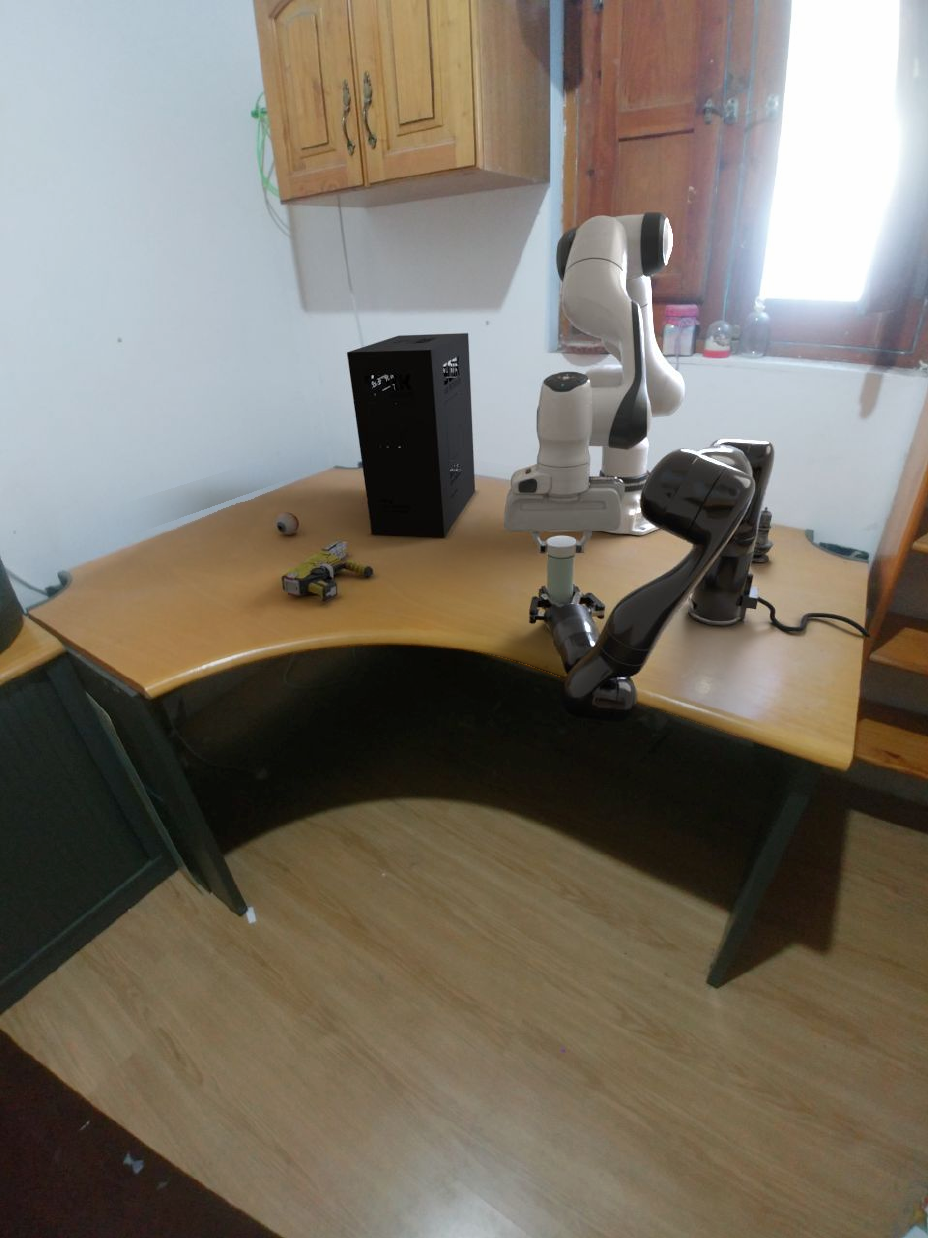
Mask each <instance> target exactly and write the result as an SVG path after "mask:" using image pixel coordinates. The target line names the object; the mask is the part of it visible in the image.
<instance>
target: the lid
mask: <svg viewBox="0 0 928 1238" xmlns="http://www.w3.org/2000/svg"><path fill="white" fill-rule="evenodd" d="M577 541H578V540H577V539H575V537H572V536H568V535H554V536H551V537H549V538H548V539H546V541H545V542H546V554H547V556H548V555H550V556H553V557H558V558H565V557H570V556H573V555H574V554H575V555H576V554H577V553H576V543H577Z"/></svg>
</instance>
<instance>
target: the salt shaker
mask: <svg viewBox="0 0 928 1238" xmlns="http://www.w3.org/2000/svg"><path fill="white" fill-rule="evenodd" d="M772 517H773V513H772V512H771V511H770V510H769V508H768V506H765V507H764V508H763V509H762V511H761V516H760V521H759V527H758V532H757V537H756V542H755V547H754V552H753V557H752V562H755V563H763V562H767V561H768V560H769V559H770V557H769V555H767V554H768V553H769V552H770V551H771V550H772V547H773V546H774V542H773V541H772V540H770V539H769V533H770V530H771V529H772V525H771V522H772Z"/></svg>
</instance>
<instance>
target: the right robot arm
mask: <svg viewBox="0 0 928 1238" xmlns="http://www.w3.org/2000/svg"><path fill="white" fill-rule="evenodd" d="M775 453H776V452H775V447H774V445H773V444H772V442H769V441H765V440H751V439H736V438H719V439H717V440H714V441H712V442H711V444H710V445H709V446H707V447H704V448H702V449H698V450H697V449H696V450H692V449H689V448H685V447H684V448H680V447H679V448H677V449H673V450H671V452H669V453H667V454H666V455H665V456H663V457H662V458H661V459H660V460H659V461H658V462H657V463H656V464H655V466H654V467H653V468H652V470H651V471H650V472H651V473H650V474H649V476H648V477H647V479H646V481H645V483H644V486H643V489H642V492H641V496H640V510H641V513H642V515H643V517H644V518H645V519H646V520H647V521H648V522H649V523H651V524H652V525H653V526H655V527H657V528H659V529H658V530H661V531H664V532H666V533H668V534H670V535H672V536H674V537H677V538H679V539H681V540H683V541H685V542H686V543H688V544H690V545H692V546H691V547H690V549H689V551H688V552H687V553H686V555H685V556H684V557H683V558H682V559H681V560H680V561H679V562H678V563H677V564H676V565H674V566H673V567H672V568H671V569H669V570H668V571H666V572H665V573H662V574H661V575H659V576H658V577H656V578H654V579H652V580H650V581H649V582H646V583H644V584H642V585H641V586H638V587H636V588H635V589H633V590H632V591H630V592H629V593H628V594H626V595H625V596H624V597H623V598H621V599H620V600H619V601H618V602H617V603H616V605H615V606H614V607H613V608H612V610H611V612H610V614H609V615H608V617H607V620H606V621H605V623H604V626H603V628H602V630H601V632H600V631H599V629H598V626H597V624H596V622H595V621H594V618H595V617H596V618H597V619H599V620H603V619H605V615H606V614H605V613H606V605H605V604H604V602H602V601H601V600H600V599H599V598H598V597H597V596H596V595H594V593H592V592H586V593H585V594H583V592H582V591H581V590H580V588H579V586H578V585H575V583H573V601H568V602H558V601H557V600H556V599H555V598H553V597H552V598H550V597H549V596H548V592H547V585H541V588H539V589H538V596H536V595H534V596H532V597H531V600H530V605H529V609H528V612H529V613H528V623H529V624H530V625H535V624H536V623H537V621H543V622H544V623H545V624H546V625H547V624H548V626H549V628H548V629H549V631H550V635H551V638H552V642H553V647H554V648H555V650H556V652H557V654H558V656H559V657H560V660H561V663H562V666H563V669H564V672H565V674H566V676H565V678H564V680H563V683H562V685H561V689H560V700H561V704H562V707H563V708H564V710H565V711H566V712H567V713H568V714H569V715H571V716H574V717H577V718H583V719H590V720H595V721H601V722H602V721H603V722H608V723H622V722H626V721H627V720H628V719H630V718H631V717H632V716H633V715H634V713H635V711H636V709H637V706H638V692H637V688H636V685H635V683H634V681H633V679H632V677H634V676H637V675H638V674H639V673H641V671H643V669H644V667H645V666H646V664H647V662H648V660H649V658H650V657H651V655H652V653H653V651H654V649H655V647H656V646H657V644H658V642H659V640H660V638H662V635H663V633H664V632H665V630H666V629H667V628H668V626H669V624H670V622H671V621H672V619H673V618H674V616H675V615H676V614H677V613H678V612H679V610H680V609H681V608H682V606H683V604H684V603H685V602H686V601H688V603H689V607H688V614H689V615H690V616H691V617H692V619H695V620H696V621H698V622H700V623H703V624H707V625H712V626H719V627H722V626H731V625H734V624H736V623H738V622H739V621H744V620H745V618H746V614H747V609H751V610H757V606H758V603H759V604H761V605H763V606H765V607H766V608H768V610H769V619H770V621H771V623H773V625H774V626H776V627H777V628H779V629H780V630H783V631H787V632H794V633H795V632H801V631H804V630H805V628H806V627H807V623H808V619H810V618H822V619H823V618H824V619H830V620H831V619H833V620H837V621H841V622H844V623H846V624H848V625H850V626H852V627H853V628H854V629H856V630H858V631H859V632H860V633H861V635H863V636H864V637H865V638H870V639H871V638H872V635H871V634H870V633H869V631H868V630H867V629H865V627H863V626H862V625H860V623H858V622H856V621H855V620H852V619H851V618H849V617H846V616H842V615H839V614H834V613H828V612H827V613H826V612H808V613H805V614H804V615H803V616H802V618H801V621H800V625H798V626H789V625H785V624H783V623H782V622H780V621H779V620H778V619H777V618H776V608H775V606H774V605H773V604H772V603H770V602H769V601H768V600H765V599H764V598H762V597H760V596H759V587H755V586H752V585H753V581H754V574H753V572H752V571H751V566H752V562H753V561H752V557H753V552H754V547H755V542H756V537H757V532H758V527H759V521H760V516H761V511H762V510H763V506H764V501H765V497H766V494H767V490H768V487H769V483H770V480H771V476H772V472H773V467H774V463H775ZM540 608H541V609H542V610H543V611H544V613H543V612H542V611H541V610H540Z"/></svg>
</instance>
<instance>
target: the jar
mask: <svg viewBox="0 0 928 1238" xmlns="http://www.w3.org/2000/svg"><path fill="white" fill-rule="evenodd" d="M575 555H576V553H575V554H574V555H573V556H570V557H565V558H558V557H553V556H550V555H548V554H547V563H546V565H547V569H546V571H547V575H546V581H547V582H546V589H547V592H548V596H549V597H550V598H552V597H553V598H555V599H556V600H557V601H558V602H568V601H573V584H575V583H574V582H575V581H574V580H575ZM546 627H547V628H548V629H549V626H548V624H546Z"/></svg>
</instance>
